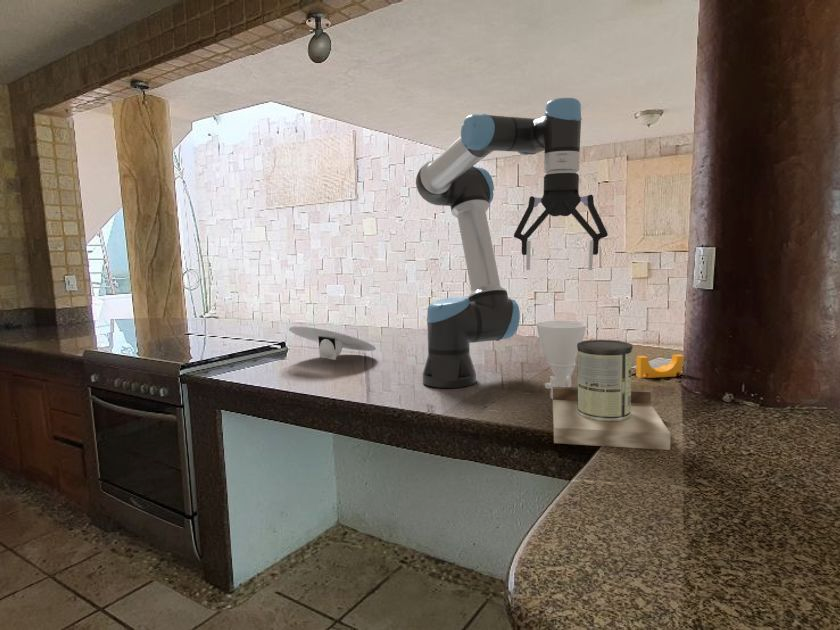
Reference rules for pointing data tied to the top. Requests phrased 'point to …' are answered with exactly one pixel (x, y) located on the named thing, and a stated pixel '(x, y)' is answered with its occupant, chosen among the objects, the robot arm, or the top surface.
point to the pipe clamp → (664, 371)
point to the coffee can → (604, 380)
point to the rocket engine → (560, 349)
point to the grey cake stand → (331, 341)
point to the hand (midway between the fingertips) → (558, 269)
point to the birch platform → (608, 423)
